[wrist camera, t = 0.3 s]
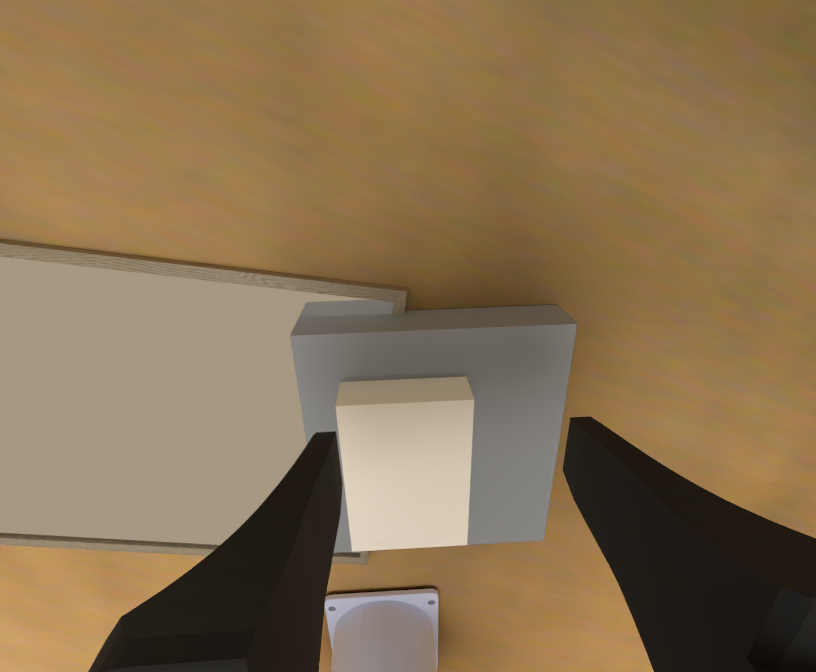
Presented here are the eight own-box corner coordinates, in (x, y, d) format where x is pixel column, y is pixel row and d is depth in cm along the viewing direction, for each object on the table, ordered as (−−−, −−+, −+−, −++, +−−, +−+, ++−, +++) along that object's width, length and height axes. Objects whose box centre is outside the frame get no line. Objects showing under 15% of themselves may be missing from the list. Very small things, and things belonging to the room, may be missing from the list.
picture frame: (406, 284, 21) (-230, 208, 19) (407, 291, 21) (-261, 212, 18) (367, 551, 29) (-84, 525, 27) (367, 564, 28) (-101, 539, 26)
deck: (530, 507, 28) (543, 540, 25) (328, 518, 27) (323, 553, 25) (557, 304, 22) (577, 323, 20) (299, 314, 21) (289, 335, 19)
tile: (461, 514, 24) (467, 544, 22) (354, 520, 24) (352, 551, 22) (466, 376, 20) (474, 399, 19) (339, 382, 20) (335, 406, 18)
